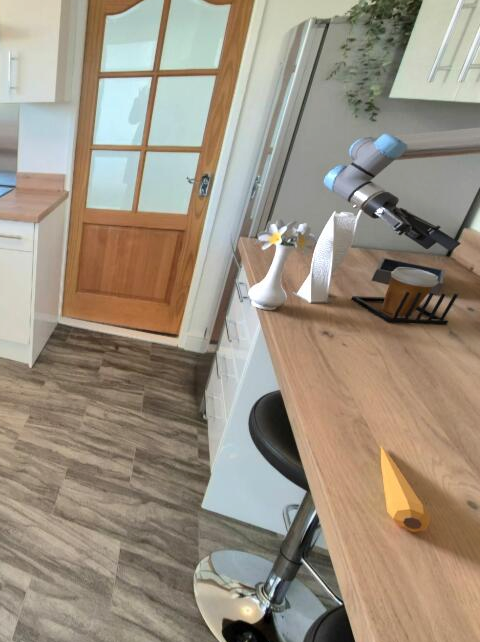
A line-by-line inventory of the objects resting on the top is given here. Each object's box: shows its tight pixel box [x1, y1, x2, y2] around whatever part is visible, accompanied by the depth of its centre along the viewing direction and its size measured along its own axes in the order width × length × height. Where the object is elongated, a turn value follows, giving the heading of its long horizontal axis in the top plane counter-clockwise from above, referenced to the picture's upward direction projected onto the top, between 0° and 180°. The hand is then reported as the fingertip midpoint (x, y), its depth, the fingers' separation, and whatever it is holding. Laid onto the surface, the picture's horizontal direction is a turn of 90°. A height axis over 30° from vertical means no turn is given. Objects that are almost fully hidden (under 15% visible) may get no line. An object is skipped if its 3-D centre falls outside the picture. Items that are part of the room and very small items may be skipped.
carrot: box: [380, 445, 432, 533], centre depth 69 cm, size 20×4×4 cm, turn 147°
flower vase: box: [247, 218, 317, 311], centre depth 120 cm, size 13×18×25 cm
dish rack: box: [350, 292, 459, 326], centre depth 120 cm, size 15×14×9 cm
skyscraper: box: [292, 209, 363, 304], centre depth 123 cm, size 8×8×28 cm
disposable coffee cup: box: [381, 267, 438, 317], centre depth 119 cm, size 10×10×12 cm
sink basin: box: [371, 257, 445, 296], centre depth 140 cm, size 15×15×4 cm
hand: (444, 246), depth 116 cm, fingers open, 13 cm apart
